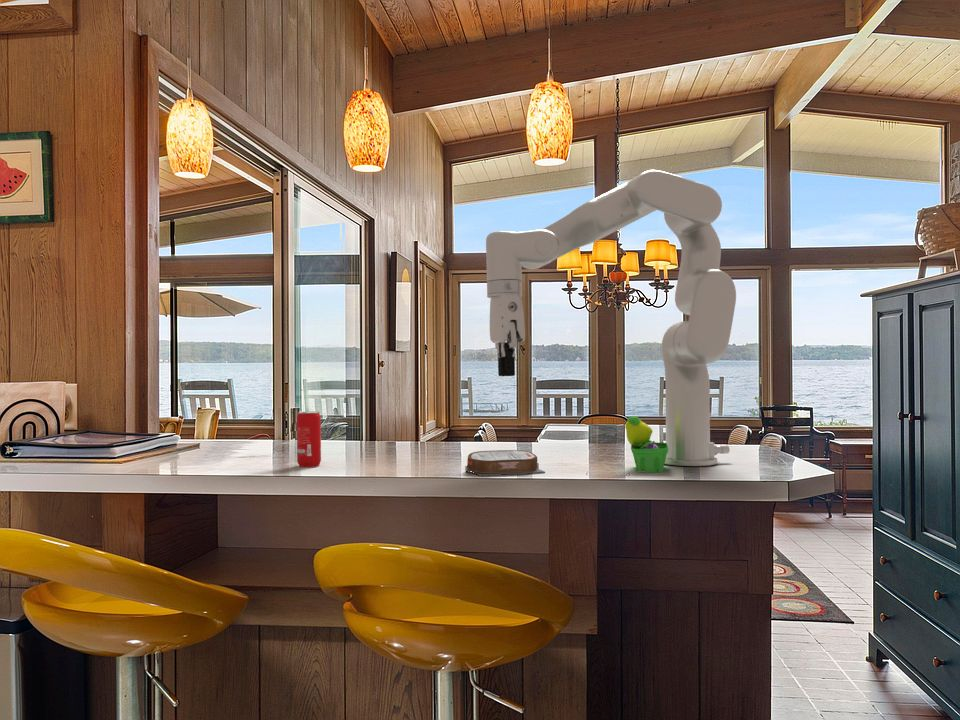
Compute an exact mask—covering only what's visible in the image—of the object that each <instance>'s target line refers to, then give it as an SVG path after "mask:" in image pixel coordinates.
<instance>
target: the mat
mask: <svg viewBox="0 0 960 720" xmlns="http://www.w3.org/2000/svg"><path fill="white" fill-rule="evenodd" d="M539 465H540V463H539V462H537V469H536V470H534V471H530V472H513V473H478V472H474V471H472V472H474V473H476V474H478V475H496V476H502V475H501V474H516V475H528V474H527V473H535V474H545V473H546V471H545V470H542V469H540V467H539ZM464 468H465V469H464V472H465V471H471V470H469V469H468V468H467V465H465V466H464ZM472 472H471V473H472ZM474 473H473V474H474ZM476 474H475V475H476ZM478 475H477V476H478Z"/></svg>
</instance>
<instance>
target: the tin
mask: <svg viewBox="0 0 960 720" xmlns="http://www.w3.org/2000/svg"><path fill="white" fill-rule="evenodd" d="M466 461H467V463H466V464H467V465H466V466H467V468H468V469H469V470H471V471H474V472H478V473H513V472H530V471H534V470H536V469H537V463H538V456H537V454H535V453H532V452H531V451H528V450H520V449H505V450H504V449H503V450H502V449H501V450H496V449H495V450H481V451H473V452H471V453H469V454H468V455H467V460H466Z"/></svg>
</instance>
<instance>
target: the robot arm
mask: <svg viewBox="0 0 960 720" xmlns="http://www.w3.org/2000/svg"><path fill="white" fill-rule="evenodd" d="M722 207H723V202H722V198H721V196H720V194H719V193H718V192H717V191H716V190H715V189H714V188H713V187H711V186H709V185H707V184H705V183H702V182H699V181H695V180H692V179H689V178H686V177H684V176H680V175H678V174H677V175H676V174H673V173H669V172H666V171H663V170H657V169H649V170H646V171H644V172H641V173H640V174H639V175H637V176H635V177H633V178H632V179H630V180H628V181H626V182H625V183H623V184H621V185H618V186H616V187H615V188H612V189H611V190H609V191H606V192H605V193H602V194H601V195H599V196H596V197H594V198H593V199H590V200H588V201H586V202H584V203H583V204H580V205H579V206H578V207H576V208H575V209H573V210H572V211H571V212H569V213H568V214H566V215H565V216H563V217H562V218H559V220H557V221H555V222H553V223H551V224H549V225H548V226H545V227H543V228H542V229H533V230H527V231H518V232H516V231H511V230H506V231H505V230H499V231H498V230H497V231H492V232H490V233H489V234H487V236H486V239H485V256H486V297H487V298H488V299H490V301H489V339H490V341H491V342H492V343H494V346H495V349H496V352H497V366H498V367H497V368H498V369H497V370H498V371H497V372H498V377H514V376H516V367H515V366H516V365H515V363H516V360H515V357H516V348H518V343H522V342H524V341H525V340H526V327H525V316H524V315H525V314H524V306H523V299H522V298H523V269H522V268H524V269H526V270H538V269H540V268H542V267H545V266H546V265H549V264H550V263H552V262H553V261H555V260H557V259H559V258H561V257H563V256H564V255H567V254H568V253H570V252H573V251H575V250H577V249H579V248H581V247H585V246H587V245H590V244H593V243H595V242H597V241H599V240H601V239H604V238H606V237H607V236H609V235H611V234H613V233H615V232H617V231H618V230H621V229H623V228H625V227H626V226H628V225H631V224H632V223H634V222H636V221H639V220H641V219H642V218H644V217H646V216H648V215H650V214H651V213H653V212H656V211H658V212H662V213H663V217H664V219H663V220H664V221H665V224H666V225H667V227H668V228H669V229H670V231H671V232H673V234H675V236H676V238H677V239H678V241H679V244H680V247H681V257H680V266H679V271H678V275H677V276H678V277H677V281H676V288H675V292H674V301H675V302H674V303H675V306H676V308H677V309H678V311H679V312H680V313H682V314H683V315H687V316H689V318H688V320H684V321H679V322H676V323H675V324H672V325H671V326H670V327H668V329H666V331H665V333H664V335H663V337H662V340H661V353H662V360H663V366H664V375H665V376H664V378H665V443H667V445H668V448H669V450H668V453H667V455H666V459H665V464H664V465H669V466H680V467H706V466H713V465H714V466H715V465H717V464H718V458H717V457H715V456H717V455H718V454H724V455H725V454H729V453H730V446H729V445H728V444H719V445H717V444H715V442H713V441H712V442H711V421H710V420H711V414H710V413H711V411H710V409H711V406H710V404H711V403H710V398H711V397H710V396H711V395H710V392H711V388H710V387H711V386H710V384H711V382H710V375H709V371H708V366H707V364H712V363H715V362H717V361H718V360H720V359H721V358H722V357H723V356H724V355H725V352H726V351H727V349H728V347H729V346H728V345H729V342H730V337H731V334H732V333H731V332H732V327H733V322H734V320H733V319H734V315H735V307H736V304H737V303H736V302H737V289H736V285H735V283H734V281H733V278H731V276H730V275H729V274H728V273H727V272H725V271H723V270H721V269H720V268H721V267H720V265H721V257H722V247H721V240H720V238H719V236H718V233H717V231H716V229H715V228H714V226H713V225H712V223H713V222H715V221H716V220H717V219H718V218H719V216H720V215H721V212H722V209H723V208H722Z"/></svg>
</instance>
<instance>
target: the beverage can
mask: <svg viewBox="0 0 960 720" xmlns="http://www.w3.org/2000/svg"><path fill="white" fill-rule="evenodd" d="M320 413H321V412H320V411H313V410H312V411H311V410H310V411H298V412H297V416H296V462H297V464H298V466H300V468H316V467H317V466H318V467H319V466H320V464H321V462H322V420H321V419H322V418H321V414H320Z"/></svg>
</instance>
